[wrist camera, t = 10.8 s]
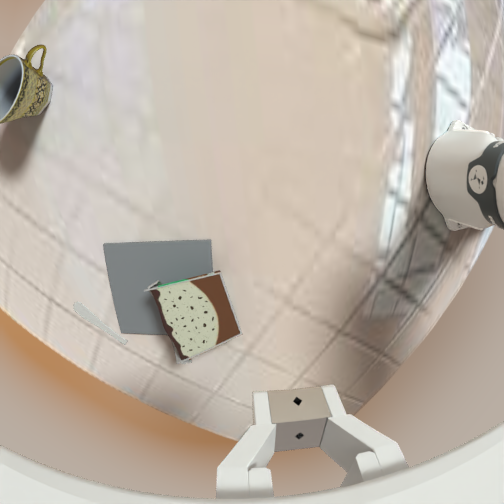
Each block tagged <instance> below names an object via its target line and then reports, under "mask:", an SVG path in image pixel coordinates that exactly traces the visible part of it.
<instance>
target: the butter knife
mask: <svg viewBox="0 0 504 504" xmlns="http://www.w3.org/2000/svg"><path fill="white" fill-rule="evenodd" d="M73 306H74V310H75V312H76V313H77V314H79V315H80V316H81V317H83V318H84V319H86V320H87V321H89V322H91V323H92V324H94V325H96V326H97V327H99V328H101V329H102V330H104V331H105V332H107V333H108V334H110V335H111V336H113V337H114V338H115V339H117V340H118V341H120V342H121V343H122V344H124V345H126V343H127V342H128V341H127V340H126V339H124V338H123V337H121V336H120V335H119V334H117V333H116V332H114V331H113V330H112V329H110V328H109V327H108V326H106V325H105V324H104V323H103V322H102V321H101V320H100V319H98V318H97V317H96V316H95V315H94V314H93V313H92V312H91V311H90V310H89V309H88V308H87V307H85V306H84V305H83V304H82V303H80V302H76V303H74V305H73Z"/></svg>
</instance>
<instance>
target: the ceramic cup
mask: <svg viewBox="0 0 504 504" xmlns="http://www.w3.org/2000/svg"><path fill="white" fill-rule="evenodd" d="M41 48H43V49H44V51H43V54H42V57H41V65H40V67H39V69H35V68H34V67H32V64H31V59H32V57H33V55H34V53H35V52H36V51H37V50H39V49H41ZM45 55H46V47H45V46H44V45H37V46H35V47H33V48H32V49H31V50H30V51H29V52H28V54H27V55H26V58H25V60H24V59H22V58H21V57H19V56H17V55H8V56H5V57H3V58H2V59H1V60H0V124H1V123H5V122H9V121H12V120H15V119H18V118H22V117H29V116H36V115H40V114H41V113H42V111H43V110H44V109H45V108H46V106H47V105H48V104H49V103H50V100H51V95H52V90H53V85H52V83H51V82H50V80H49V79H48V78H47V77H46V76H45V75H43V72H42V68H43V62H44V58H45Z"/></svg>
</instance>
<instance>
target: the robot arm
mask: <svg viewBox="0 0 504 504" xmlns="http://www.w3.org/2000/svg"><path fill="white" fill-rule="evenodd" d="M426 183H427V188H428V192H429V195H430V198H431V200H432V202H433V203H434V205H435V207H436V208H437V209H438V210H439V211H440V212H441V213H442V215H443V216H444V219H445V222H446V225H447V227H448V229H449V230H452V231H457V230H460V229H464V228H468V227H472V228H475V229H478V230H483V229H484V228H488V227H490V226H492V225H495V226H497V227H498V228H501V229H504V140H503V139H502V138H499V137H495V135H494V134H493V133H489V132H488V131H483V130H475V129H473V128H472V127H470V126H468V125H467V124H465V123H463V122H462V121H460V120H454V121H453V122H452V123H451V125H450V127H449V129H448V131H447V132H446V133H445V134H443V135H442V136H440V137H439V138H438V139H437V140H436V141H435V142H434V144H433V146H432V147H431V150H430V152H429V155H428V159H427V164H426ZM312 447H320V448H321V449H322V450H323V451H324V452H325V453H326V454H327V455H328V456H329V457H330V458H332V459H333V460H334V461H335V462H336V463H337V464H338V465H339V466H340V467H342V468H343V469H344V470H345V471H346V472H347V475H346V477H345V479H344V481H343V482H342V484H341V486H340V487H339V488H334V489H329V490H323V491H318V492H312V493H305V494H298V495H290V496H280V497H274V494H273V486H272V479H271V471H270V470H269V469H267V468H266V466H267V465H268V463H269V461H270V459H271V458H272V456H273V454H274V452H277V451H287V450H294V449H304V448H312ZM0 504H504V421H503V422H501V423H500V424H498V425H497V426H495V427H493V428H492V429H490V430H488V431H487V432H485V433H483V434H481V435H479V436H478V437H476V438H474V439H472V440H470V441H468V442H467V443H464V444H463V445H460V446H459V447H456V448H454V449H452V450H450V451H448V452H446V453H444V454H441V455H439V456H437V457H434V458H432V459H430V460H428V461H425V462H422V463H420V464H417V465H415V466H412V467H409V466H408V464H407V462H406V460H405V458H404V456H403V454H402V452H401V450H400V448H399V446H398V444H397V442H395V441H393V440H392V439H390V438H388V437H387V436H385V435H383V434H382V433H380V432H378V431H377V430H375V429H373V428H372V427H370V426H369V425H367V424H365V423H364V422H362V421H361V420H359V419H357V418H356V417H354V416H353V415H351V414H346V412H345V409H344V407H343V404H342V402H341V399H340V397H339V395H338V392H337V390H336V387H335V386H334V385H333V384H331V385H324V386H316V387H308V388H299V389H291V390H272V391H253V425H251V426H250V427H249V429H248V430H247V431H246V432H245V434H244V435H243V436H242V438H241V439H240V440H239V441H238V443H237V444H236V445H235V447H234V448H233V449H232V450H231V451H230V453H229V454H228V455H227V456H226V458H225V459H224V460H223V461H222V462H221V464H220V465H219V466H218V467H217V490H216V499H208V498H190V497H178V496H169V495H161V494H154V493H147V492H141V491H135V490H130V489H125V488H120V487H115V486H111V485H107V484H103V483H99V482H95V481H92V480H88V479H85V478H81V477H78V476H75V475H72V474H69V473H65V472H63V471H60V470H57V469H55V468H52V467H49V466H46V465H44V464H42V463H39V462H36V461H34V460H32V459H30V458H27V457H25V456H23V455H21V454H18V453H16V452H14V451H12V450H10V449H8V448H6V447H4V446H2V445H0Z"/></svg>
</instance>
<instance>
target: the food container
mask: <svg viewBox="0 0 504 504" xmlns="http://www.w3.org/2000/svg"><path fill="white" fill-rule="evenodd" d="M145 291H149V292H150V293H151V295H152V296H153V298H154V299H155V302H156V304H157V307H158V309H159V313H160V316H161V320H162V324H163V327H164V329H165V331H166V333H167V334H168V336H169V337H170V339H171V340H172V344H173V347H174V351H175V355H176V362H177V364H179V363H182V364H186V363H192V360H191V358H193V357H195V356H198V355H200V354H202V353H204V352H206V351H209V350H211V349H213V348H215V347H217V346H219V345H221V344H224V343H226V342H228V341H230V340H232V339H234V338H236V337H238V336H240V335H242V331H241V329H240V326H239V323H238V320H237V317H236V314H235V312H234V309H233V306H232V303H231V300H230V297H229V294H228V292H227V289H226V286H225V283H224V280H223V277H222V274H221V271H220V270H219V271H215V272H211V273H207V274H203V275H199V276H195V277H191V278H187V279H183V280H179V281H175V282H171V283H166V284H162V283H161V282H160V281H159V280H158V281H156V282H154V283H153V284H151V285H149V286H148V288H147V289H145V290H144V292H145Z"/></svg>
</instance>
